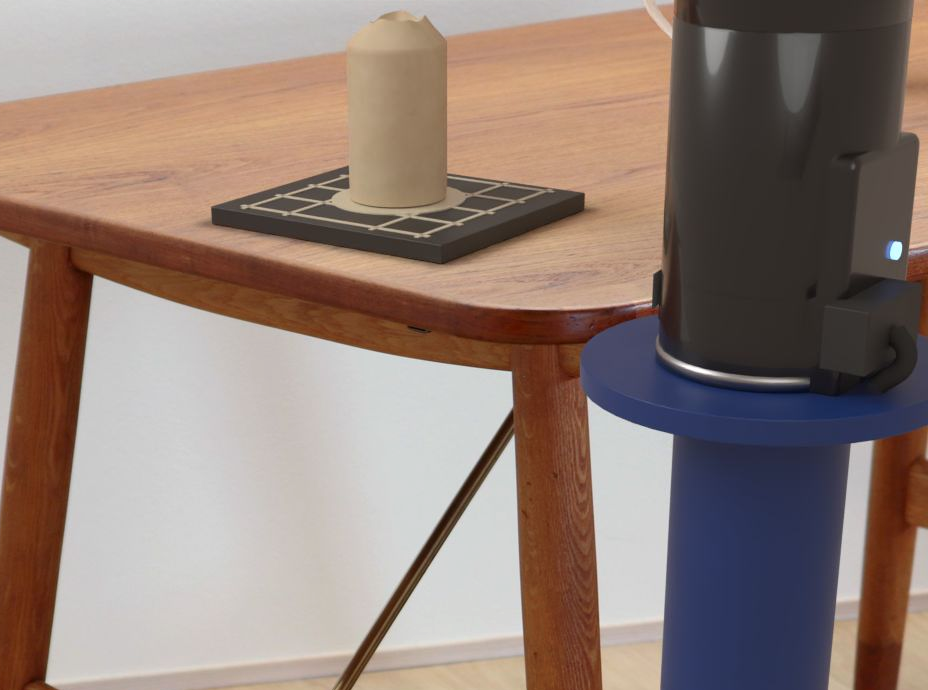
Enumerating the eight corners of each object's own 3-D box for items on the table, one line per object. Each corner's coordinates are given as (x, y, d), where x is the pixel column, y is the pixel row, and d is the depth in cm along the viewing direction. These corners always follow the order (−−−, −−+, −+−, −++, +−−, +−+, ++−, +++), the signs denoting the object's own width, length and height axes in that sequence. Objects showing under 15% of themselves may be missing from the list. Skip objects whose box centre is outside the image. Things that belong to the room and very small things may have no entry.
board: (584, 210, 110) (585, 190, 109) (441, 264, 100) (441, 243, 99) (362, 177, 119) (362, 159, 118) (211, 223, 109) (210, 204, 108)
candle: (358, 185, 112) (354, 7, 108) (452, 187, 111) (452, 7, 107) (342, 208, 107) (337, 21, 103) (440, 209, 106) (440, 21, 102)
